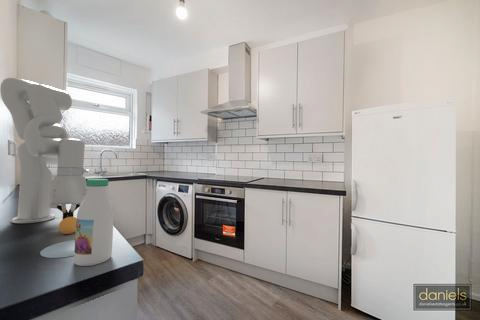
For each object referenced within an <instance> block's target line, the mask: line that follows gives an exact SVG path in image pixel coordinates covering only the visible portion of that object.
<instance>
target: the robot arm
mask: <svg viewBox="0 0 480 320" xmlns="http://www.w3.org/2000/svg"><path fill="white" fill-rule="evenodd" d="M0 83H1V84H0V97H1V100H2V102H3V103H4V106H5V107H6V108H7V110H8V112H9V113H10V115H11V118H12V121H13V124H14V127H15V130H16V133H17V136H18V138H19V139H20V140H22V141H23V142H22V143H21V144H20V145H19V146H18V149H17V152H18V154H17V155H18V159H19V167H20V171H19V172H20V174H19V191H18V205H17V206H18V208H17V216H15V217H12V218H11V223H12V224H13V223H14V224H34V223H40V222H42V223H43V222H47V221H50V220H53V219H55V218H56V214H55V213H52V209H57V210H59V211H60V212H62V220H63V219H65V218H67V217H74V213H75V211H76V210H78V209H79V207H80V205H81V203H82V202H83V200H84V198H85V196H86V193H87V188H86V181H87V179H86V176H85V175H84V174H88V173H89V169H85V168H84V165H85V164H84V162H85V161H84V159H85V145H86V144H85V141H83V140H82V139H76V138H70V137H69V134H68V131H67V130H66V128H65V127H64V126H62V125H61V124H59V123H60V122H62V120H63V115H62V112H61V111H68V110H70V109H71V107H72V105H73V100H72V99H73V98H72V97H71V94H69V93H68V92H67V91H66V90H62V89H59V88H55V87H53V86H49V85H45V84H40V83H37V82H34V81H30V80H26V79H23V78H18V77H8V78H5V79H3V80H2V82H0ZM49 165H51V166H52V165H56V166H57V169H56V175H54V176H53V173H52V171H51V170H50V169H49V167H48V166H49ZM66 205H70V208H69V210H68V209H67V206H66Z"/></svg>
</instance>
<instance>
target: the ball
mask: <svg viewBox="0 0 480 320" xmlns="http://www.w3.org/2000/svg"><path fill="white" fill-rule="evenodd" d="M76 220H77V217H75V216H73V217H67V218H65V219H63V218H62V220H60V221H59V223H58V230H59V232H60V233H62V234H64V235H71V234H74V233H76Z"/></svg>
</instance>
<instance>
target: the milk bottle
mask: <svg viewBox="0 0 480 320" xmlns="http://www.w3.org/2000/svg"><path fill="white" fill-rule="evenodd" d="M108 188H109V179H107V178H88V179H86V196H85V198H84V200H83V202H82V203H81V205H80V207H78V209H77V212H76V213H77V214H76V218H77V220H76V231H75V232H74V233H75V235H74V236H75V238H74V240H75V250H74V256H73V263H74V264H75V265H76V266H78V267H89V266H90V267H91V266H96V265H100V264H102V263H105V262H107V261H108V260H110V259H111V258H112V255H113V237H114V236H113V235H114V207H113V204H112V201H111V199H110V198H109V195H108Z"/></svg>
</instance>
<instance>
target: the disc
mask: <svg viewBox="0 0 480 320" xmlns="http://www.w3.org/2000/svg"><path fill="white" fill-rule="evenodd" d="M74 250H75V239H73V240H71V239H70V240H65V241H61V242H58V243H55V244H50V245H49V246H47V247H45V248H43V249H42V250H40V252H39V254H40V256H41V257H43V258H49V259H57V258H58V259H60V258H69V257H74Z"/></svg>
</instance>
